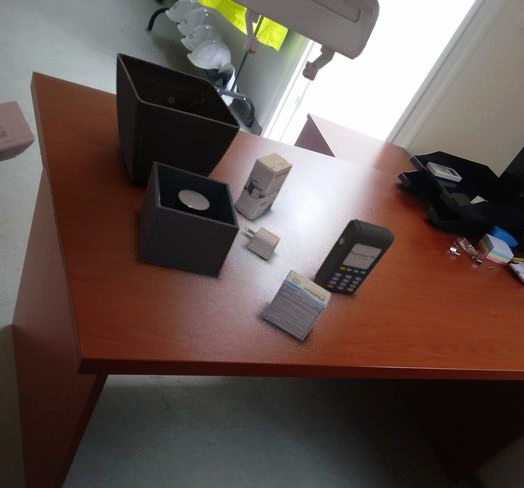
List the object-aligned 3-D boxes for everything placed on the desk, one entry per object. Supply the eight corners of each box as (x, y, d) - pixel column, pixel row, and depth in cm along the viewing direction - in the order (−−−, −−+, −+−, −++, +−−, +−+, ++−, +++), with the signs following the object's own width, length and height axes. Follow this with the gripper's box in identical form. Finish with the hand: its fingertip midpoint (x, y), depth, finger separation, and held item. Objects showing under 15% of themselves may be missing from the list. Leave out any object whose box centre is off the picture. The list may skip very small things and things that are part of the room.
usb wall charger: (266, 261, 88) (274, 245, 86) (235, 242, 88) (243, 225, 86) (272, 252, 91) (281, 236, 89) (243, 234, 91) (250, 218, 89)
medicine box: (308, 328, 80) (333, 293, 74) (301, 342, 77) (327, 307, 71) (269, 304, 80) (291, 267, 74) (261, 318, 77) (283, 280, 71)
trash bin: (140, 261, 73) (156, 206, 66) (139, 213, 81) (153, 160, 74) (217, 277, 79) (239, 228, 72) (209, 231, 87) (228, 183, 80)
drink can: (164, 249, 77) (179, 204, 71) (163, 230, 80) (177, 186, 74) (194, 255, 79) (211, 212, 73) (191, 237, 82) (207, 195, 76)
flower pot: (100, 136, 93) (116, 48, 82) (187, 155, 103) (211, 79, 92) (118, 192, 83) (139, 100, 72) (212, 206, 93) (242, 128, 82)
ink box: (253, 198, 103) (275, 150, 95) (271, 211, 102) (294, 164, 94) (233, 207, 96) (255, 157, 89) (252, 221, 96) (275, 172, 88)
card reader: (316, 291, 89) (358, 229, 79) (310, 277, 91) (350, 215, 81) (354, 297, 93) (398, 239, 83) (347, 284, 96) (389, 226, 86)
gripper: (254, -97, 49) (211, 42, 58) (400, -9, 57) (343, 100, 67) (245, -106, 53) (206, 26, 62) (383, -22, 61) (332, 82, 71)
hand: (278, 65), depth 64 cm, fingers open, 8 cm apart
